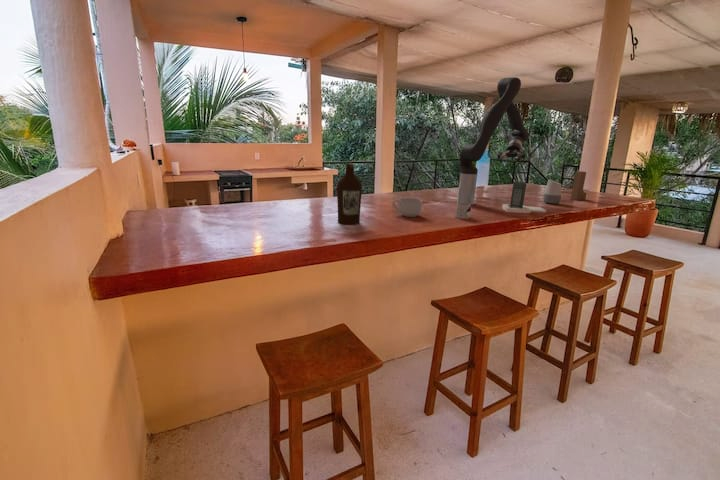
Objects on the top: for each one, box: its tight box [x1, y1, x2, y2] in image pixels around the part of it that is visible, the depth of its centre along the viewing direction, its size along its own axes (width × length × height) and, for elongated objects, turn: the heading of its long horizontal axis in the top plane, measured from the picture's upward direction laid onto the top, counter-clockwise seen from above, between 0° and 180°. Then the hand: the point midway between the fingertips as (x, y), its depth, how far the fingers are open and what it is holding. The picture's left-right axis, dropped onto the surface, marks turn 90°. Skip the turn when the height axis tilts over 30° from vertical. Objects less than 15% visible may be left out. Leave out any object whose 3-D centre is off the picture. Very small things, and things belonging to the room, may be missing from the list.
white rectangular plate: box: [525, 205, 547, 214], centre depth 199 cm, size 8×10×1 cm
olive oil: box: [336, 163, 363, 226], centre depth 156 cm, size 11×11×25 cm
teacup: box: [392, 197, 423, 218], centre depth 176 cm, size 14×11×8 cm
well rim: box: [501, 203, 532, 214], centre depth 196 cm, size 12×12×2 cm
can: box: [509, 181, 527, 209], centre depth 194 cm, size 6×6×15 cm
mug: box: [455, 202, 472, 220], centre depth 177 cm, size 10×7×7 cm, turn 160°
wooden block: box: [570, 170, 588, 201], centre depth 236 cm, size 9×4×18 cm, turn 115°
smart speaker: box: [543, 179, 563, 205], centre depth 219 cm, size 10×9×14 cm
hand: (509, 160), depth 199 cm, fingers open, 8 cm apart
